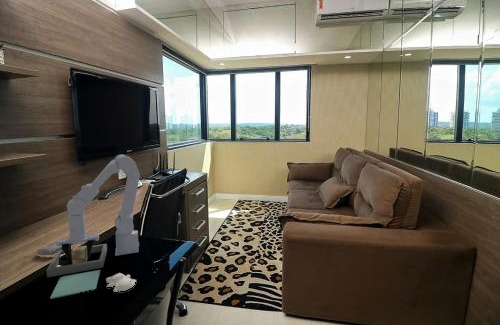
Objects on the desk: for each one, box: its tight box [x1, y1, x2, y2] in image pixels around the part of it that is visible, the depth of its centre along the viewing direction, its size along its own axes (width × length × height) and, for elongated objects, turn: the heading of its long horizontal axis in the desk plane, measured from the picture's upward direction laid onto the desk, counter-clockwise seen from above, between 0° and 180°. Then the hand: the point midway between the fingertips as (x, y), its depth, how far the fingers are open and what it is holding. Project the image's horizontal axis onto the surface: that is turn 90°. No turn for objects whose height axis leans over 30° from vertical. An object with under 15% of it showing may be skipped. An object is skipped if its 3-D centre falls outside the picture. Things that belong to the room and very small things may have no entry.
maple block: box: [71, 245, 88, 264], centre depth 108 cm, size 4×4×6 cm
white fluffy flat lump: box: [105, 272, 137, 293], centre depth 93 cm, size 9×12×3 cm
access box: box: [46, 243, 108, 278], centre depth 108 cm, size 18×16×3 cm
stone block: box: [36, 241, 73, 255], centre depth 117 cm, size 12×5×10 cm
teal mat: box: [49, 269, 101, 300], centre depth 93 cm, size 13×13×1 cm
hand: (79, 259), depth 108 cm, fingers open, 6 cm apart
